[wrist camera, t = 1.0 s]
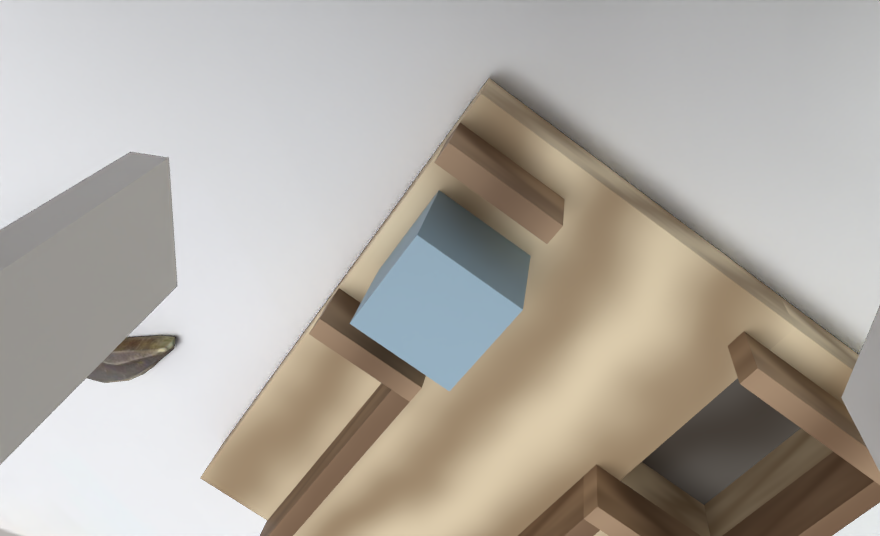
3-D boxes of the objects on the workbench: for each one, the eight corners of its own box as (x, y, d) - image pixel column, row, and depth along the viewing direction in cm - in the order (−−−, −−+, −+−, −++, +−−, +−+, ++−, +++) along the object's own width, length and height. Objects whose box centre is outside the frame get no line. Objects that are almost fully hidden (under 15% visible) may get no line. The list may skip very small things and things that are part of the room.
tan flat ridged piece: (222, 444, 46) (175, 516, 41) (488, 77, 34) (471, 111, 29) (542, 648, 49) (537, 740, 44) (889, 377, 37) (941, 459, 32)
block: (378, 270, 36) (349, 323, 31) (438, 190, 33) (416, 235, 29) (465, 331, 36) (449, 391, 32) (530, 256, 34) (523, 309, 30)
